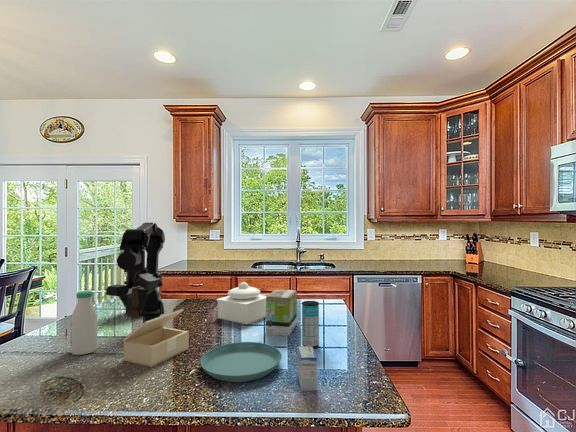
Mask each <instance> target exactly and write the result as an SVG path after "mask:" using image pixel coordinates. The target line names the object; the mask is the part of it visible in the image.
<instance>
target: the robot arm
mask: <svg viewBox="0 0 576 432" xmlns="http://www.w3.org/2000/svg"><path fill="white" fill-rule="evenodd" d="M165 240H166V236H165V233H164V230H163V229H162V228H160V227H159V226H158V224H157V222H142V224H141V225H140V226H138V227H137V228H127V229H126V230H125V231H124V232H123V234H122V237H121V242H120V245H119V251H122V252H121V253H120V254H118V257H117V259H116V265H117V266H118V267H119V269H122V270H123V272H124V273H126V276H127V281H126V280H125V281H123V284H119V283H117V284H113V285H108V286H107V287H106V289H105V295H106V296H113V297H118V298H119V299H120V301H121V302H122V304H123V306H124V307H125V308H126V310H127V312H128V313H129V314H131V312H132V298H133V296H134V295H135V294H133V293H132V290H134V289H137V293H138V300H139V303H138V310H139V317H142V324H143V323H145V322H146V321H149V320H152V319H155V318H157V317H160V316H162V315H165V306H164V303H163V300H162V296H161V294H160V291H159V292H158V290H157V287H159V288H160V287H163V280H162V273H161V272H159V257H160V256H159V255H160V252H161V251H162V249H163V248H164V244H165V242H166V241H165ZM145 267H146V268H145ZM158 310H159V311H158ZM160 328H161V327H160ZM157 329H158V328H157ZM155 330H156V329H155ZM152 331H153V330H152Z"/></svg>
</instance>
